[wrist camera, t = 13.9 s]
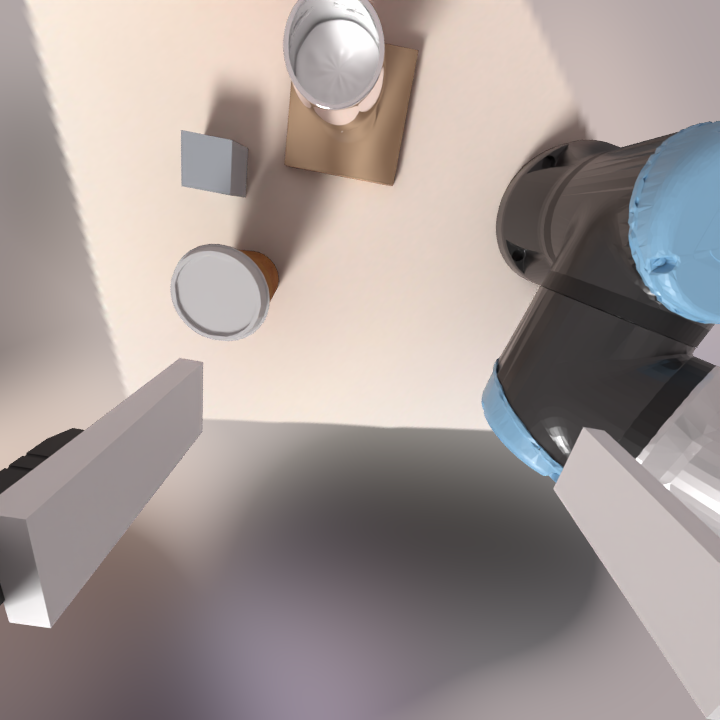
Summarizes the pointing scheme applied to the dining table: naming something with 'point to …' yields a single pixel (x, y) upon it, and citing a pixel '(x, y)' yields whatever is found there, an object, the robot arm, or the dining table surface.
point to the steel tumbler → (337, 64)
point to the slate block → (213, 164)
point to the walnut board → (368, 155)
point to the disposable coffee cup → (223, 291)
